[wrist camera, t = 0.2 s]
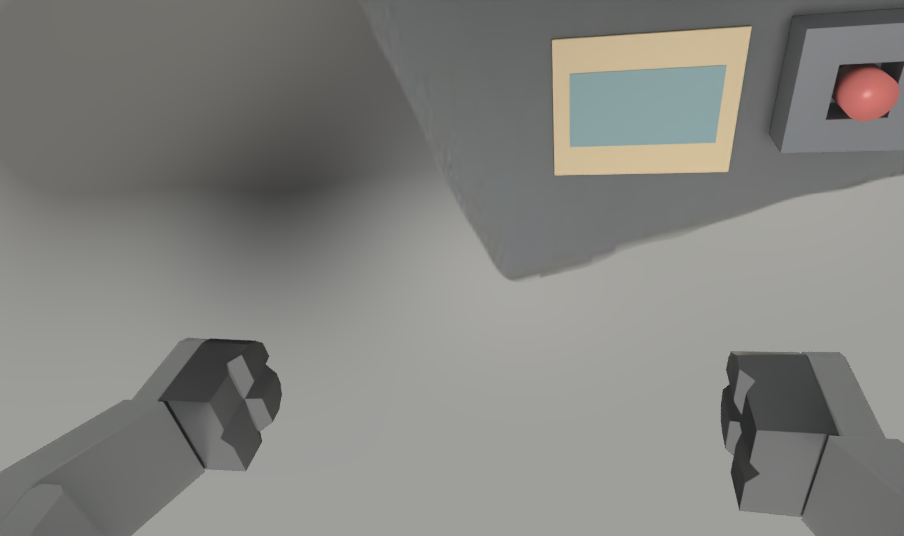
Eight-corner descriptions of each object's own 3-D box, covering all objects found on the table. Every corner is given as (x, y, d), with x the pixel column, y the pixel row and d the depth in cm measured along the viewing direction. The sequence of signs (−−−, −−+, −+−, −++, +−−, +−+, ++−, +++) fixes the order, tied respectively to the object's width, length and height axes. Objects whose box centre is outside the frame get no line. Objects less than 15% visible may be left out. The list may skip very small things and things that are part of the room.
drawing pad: (552, 39, 52) (551, 40, 52) (750, 25, 49) (751, 26, 48) (554, 173, 59) (554, 175, 59) (727, 170, 56) (728, 172, 56)
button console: (792, 16, 48) (807, 29, 45) (936, 5, 46) (962, 18, 42) (769, 134, 53) (780, 153, 50) (896, 130, 51) (916, 149, 48)
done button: (835, 61, 47) (850, 76, 44) (886, 58, 46) (905, 73, 44) (824, 106, 49) (838, 122, 46) (873, 103, 48) (890, 120, 46)
